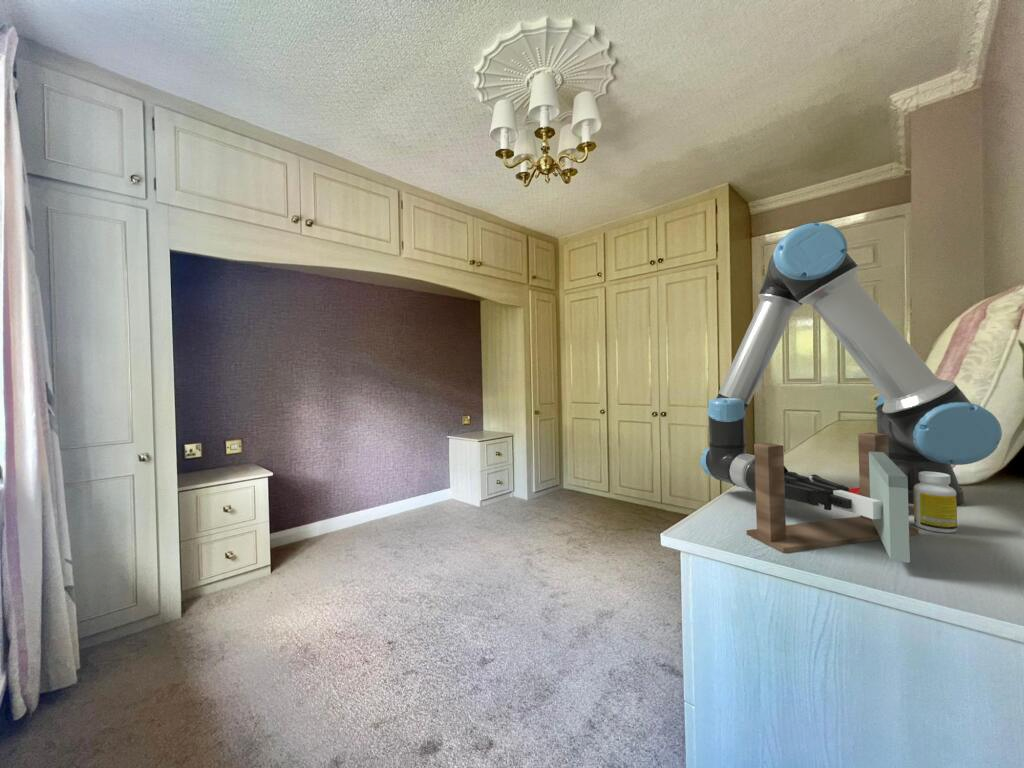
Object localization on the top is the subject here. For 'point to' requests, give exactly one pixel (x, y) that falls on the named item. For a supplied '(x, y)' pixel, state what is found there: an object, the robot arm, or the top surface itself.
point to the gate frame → (812, 533)
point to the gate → (890, 505)
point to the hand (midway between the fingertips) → (877, 510)
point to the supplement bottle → (935, 503)
